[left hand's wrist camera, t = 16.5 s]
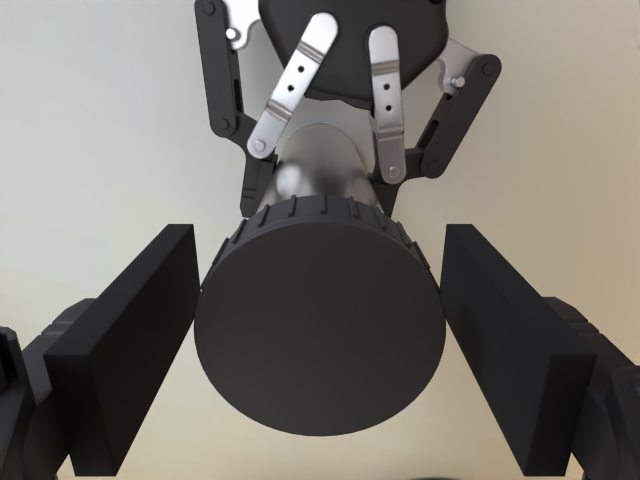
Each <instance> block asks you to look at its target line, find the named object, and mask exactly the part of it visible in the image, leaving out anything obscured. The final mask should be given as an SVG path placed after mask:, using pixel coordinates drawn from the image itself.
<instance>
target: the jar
mask: <svg viewBox="0 0 640 480" xmlns="http://www.w3.org/2000/svg"><path fill="white" fill-rule="evenodd" d="M320 192H325V195H331V196H338V197H344V198H349V196H352V197H353V198H354V200H355V201H359V202H362V203H364V204H366V205H369V206H371V207H373V208H375V206H378V207H379V208H380V210H381V212H382V213H383V214H384V212H383V210H382V208H381V205H380V203H379V201H378V199H377V196H376V194H375V192H374V189H373V187H372V185H371V182H370V180H369V178H368V175H367V173H366V171H365V169H364V166H363V164H362V162H361V159H360V157H359V155H358V152H357V150H356V148H355V146H354V144H353V142H352V140H351V139H350V138H349V137H348V136H347V135H346V134H345V133H344V132H343V131H341V130H340V129H338V128H336V127H334V126H331V125H326V124H314V125H309V126H306V127H304V128H302V129H300V130H299V131H297V132H296V133H295V134H294V135H293V136H292V137H291V138H290V139H289V141H288V142H287V144H286V146H285V148H284V150H283V153H282V155H281V157H280V160H279V162H278V164H277V166H276V169H275V171H274V173H273V176H272V178H271V180H270V183H269V185H268V187H267V189H266V192H265V194H264V196H263V199H262V201H261V203H260V206H259V208H258V210H257V212H256V214H257V213H258V212H260V211H261V210H263V208H264V206H265V205H266V204H269V205H270V206H271V205H273V204H276V203H279V202H281V201H284V200H287V199H291V196H292V195H296V197H301V196H310V195H320Z"/></svg>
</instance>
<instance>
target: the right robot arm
mask: <svg viewBox="0 0 640 480" xmlns="http://www.w3.org/2000/svg"><path fill="white" fill-rule="evenodd" d="M446 1H447V0H196V1H195V6H194V7H195V16H196V23H197V31H198V38H199V45H200V53H201V60H202V67H203V75H204V82H205V89H206V97H207V104H208V112H209V119H210V126H211V129H212V131H213V132H214V133H215V134H216V135H217V136H219V137H223V138H227V139H229V140H231V141H232V142H234V143H236V144H237V145H239V146H240V147H241V148H242V149H243V151H244V152H245V155H246V165H245V173H244V180H243V188H242V196H241V202H240V209H241V213H242V217H246V218H251V217H252V216H254V215H255V214H256V212H257V210H258V208H259V206H260V203H261V201H262V199H263V196H264V194H265V192H266V189H267V187H268V185H269V183H270V180H271V178H272V176H273V173H274V171H275V169H276V166H277V160H278V155H277V154H274V153H275V147H276V143H277V141H278V139H279V138H280V136H281V134H282V132H283V130H284V129H285V127H286V125H287V123H288V122H289V120H290V118H291V116H292V114H293V113H294V111H295V109H296V107H297V105H298V104H299V102H300V100H301V98H302V96H303V95H305V97H306V98H310V99H315V100H320V101H324V100H341V101H343V102H345V103H347V104H349V105H351V106H353V107H355V108H360V109H365V110H368V111H369V119H370V126H371V131H372V138H373V147H374V156H375V166H374V171H373V173H369V172H368V178H369V180H370V182H371V185H372V187H373V189H374V192H375V194H376V196H377V199H378V201H379V203H380V205H381V208H382V210H383V212H384V214H385V215H386V216H388V217H389V218H390V219H391V215H392V211H393V207H394V204H395V200H396V196H397V192H398V189H399V187H400V186H401V184H402V183H403V182H405V181H406V180H409V179H412V178H419V177H427V178H430V179H434V178H438V177H439V176H441V175H442V174H443V173H444V171H445V169H446V168H447V166H448V164H449V162H450V161H451V159H452V157H453V155H454V154H455V152H456V150H457V148H458V147H459V145H460V143H461V141H462V140H463V138H464V136H465V134H466V133H467V131H468V129H469V127H470V125H471V124H472V122H473V120H474V118H475V117H476V115H477V113H478V111H479V110H480V108H481V106H482V104H483V103H484V101H485V99H486V97H487V96H488V94H489V92H490V90H491V89H492V87H493V85H494V83H495V82H496V80H497V78H498V76H499V75H500V72H501V61H500V60H499V58H498V57H497V56H495V55H492V54H479V53H477V52H475V51H473V50H471V49H469V48H467V47H465V46H463V45H462V44H460V43H458V42H456V41H454V40H452V39H450V38H448V37H449V30H448V24H447V20H446ZM258 22H262V23H263V25H264V27H265V29H266V32H267V34H268V36H269V38H270V40H271V42H272V45H273V47H274V49H275V51H276V53H277V55H278V58H279V60H280V62H281V64H282V66H283V68H284V72H283V74H282V76H281V78H280V80H279V81H278V83H277V85H276V87H275V89H274V91H273V93H272V95H271V96H270V98H269V100H268V102H267V105H266V107H265V109H264V111H263V113H262V115H261V117H260V118H259V120H258V122H257V121H256V120H254V119H252V118H251V117H249V116H247V115H246V114H244V108H243V99H242V89H241V80H240V71H239V62H238V52H237V50H242V49H244V48H245V47H247V45H248V44H249V42H250V33H251V30H252V28H253V26H254V25H255V24H257V23H258ZM435 60H437V61H438V62H439V64H440V69H441V71H440V75H439V78H438V86H439V88H440V90H441V91H442V92H444V94H443V96H442V98H441V100H440V101H439V103H438V105H437V107H436V109H435V111H434V113H433V115H432V116H431V118H430V120H429V122H428V124H427V126H426V128H425V129H424V131H423V133H422V135H421V137H420V139H419V141H418V142H417V144H416V146H415V148H410V149H404V138H403V134H404V118H403V107H402V95H401V91H402V90H404V89H405V88H406V87H407V86H408V85H409V84H410V83H411V82H412V81H413V80H414V79H415V78H417V77H418V76H419V75H420V74H421V73H422V72H423V71H424V70H425V69H426V68H427V67H428V66H429V65H431V64H432V63H433V62H434V61H435Z"/></svg>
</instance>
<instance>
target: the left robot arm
mask: <svg viewBox="0 0 640 480" xmlns="http://www.w3.org/2000/svg"><path fill="white" fill-rule="evenodd" d="M440 290H441V294H440V296H441V300H442V303H443V307H444V312H445V318H446V320H447V322H448V324H449V326H450V328H451V330H452V332H453V334H454V336H455V338H456V340H457V342H458V344H459V346H460V348H461V350H462V352H463V354H464V356H465V358H466V360H467V362H468V364H469V366H470V368H471V370H472V372H473V374H474V376H475V378H476V380H477V382H478V384H479V386H480V388H481V390H482V393H483V395H484V397H485V399H486V401H487V403H488V405H489V407H490V409H491V411H492V413H493V415H494V417H495V419H496V421H497V423H498V425H499V427H500V429H501V431H502V433H503V435H504V437H505V439H506V441H507V443H508V445H509V447H510V449H511V451H512V453H513V455H514V457H515V459H516V461H517V463H518V465H519V467H520V469H521V471H522V473H523V475H524V476H565V473H566V469H567V466H568V462H569V458H570V455H571V452H572V453H573V455H574V456H575V458H576V460H577V461H578V463H579V464H580V466H581V467H582V469H583V470H584V473H583V476H582V480H640V366H637V365H635V364H634V363H633V362H632V361H630V360H629V359H628V358H627V357H626V356H625V355H624V354H623V353H622V352H621V351H620V350H619V349H618V348H617V347H616V346H615V345H614V344H613V343H611V342H610V341H609V340H608V339H607V338H606V337H605V336H604V335H603V334H600V333H599V330H598V329H597V328H596V327H595V326H594V325H592V324H591V323H588V320H587V319H586V318H585V317H584V316H583V315H582V314H581V313H580V312H579V311H578V310H577V309H576V308H574V307H573V306H571V305H569V304H567V303H565V302H563V301H561V300H560V299H558V298H556V297H541V296H540V295H539V294H538V292H537V291H536V290H535V289H534V288H533V287H532V286H531V285H530V284H529V283H528V282H527V281H526V280H525V279H524V278H523V277H522V276H521V275H520V274H519V273H518V272H517V271H516V270H515V269H514V268H513V266H512V265H511V264H510V263H509V262H508V261H507V260H506V259H505V258H504V257H503V256H502V255H501V254H500V253H499V252H498V251H497V250H496V249H495V248H494V247H493V246H492V245H491V244H490V243H489V242H488V240H487V239H486V238H485V237H484V236H483V235H482V234H481V233H480V232H479V231H478V230H477V229H476V228H475V227H474V226H473V225H472V224H447V226H446V235H445V245H444V254H443V263H442V272H441V281H440ZM200 294H201V290H200V281H199V272H198V263H197V254H196V245H195V235H194V226H193V224H168V225H167V226H166V227H165V228H164V229H163V230H162V231H161V232H160V233H159V234H158V235H157V236H156V237H155V238H154V239H153V240H152V242H151V243H150V244H149V245H148V246H147V247H146V248H145V249H144V250H143V251H142V252H141V253H140V254H139V255H138V256H137V257H136V258H135V259H134V260H133V261H132V262H131V263H130V264H129V265H128V266H127V268H126V269H125V270H124V271H123V272H122V273H121V274H120V275H119V276H118V277H117V278H116V279H115V280H114V281H113V282H112V283H111V284H110V285H109V286H108V287H107V288H106V289H105V290H104V291H103V292H102V294H101V295H100V296H99V297H98V298H85V299H84V300H82V301H80V302H78V303H76V304H74V305H73V306H71V307H69V308H67V309H65V310H64V311H63V312H62V313H61V314H60V315H59V316H58V317H57V318H56V319H55V320H54V321H53V322H52V324H50V325H49V326H48V327H47V328H45V329H44V330H43V331H42V332H41V335H38V336H37V337H36V338H35V339H34V340H33V341H32V342H31V343H30V344H29V345H28V346H27V347H26V348H25V349H23V350H22V351H21V348H20V345H19V341H18V338H17V334H16V332H15V331H13V330H12V329H10V328H8V327H0V480H58V476H57V471H58V470H59V468H60V467H61V465H62V464H63V462H64V460H65V459H66V457H67V456H68V454H69V455H70V458H71V462H72V466H73V469H74V473H75V476H116V475H117V473H118V471H119V469H120V467H121V465H122V463H123V461H124V459H125V457H126V455H127V453H128V451H129V449H130V447H131V445H132V443H133V441H134V439H135V437H136V435H137V433H138V431H139V429H140V427H141V425H142V423H143V421H144V419H145V417H146V415H147V413H148V411H149V409H150V407H151V405H152V403H153V401H154V399H155V397H156V395H157V393H158V390H159V388H160V386H161V384H162V382H163V380H164V378H165V376H166V374H167V372H168V370H169V368H170V366H171V364H172V362H173V360H174V358H175V356H176V354H177V352H178V350H179V348H180V346H181V344H182V342H183V340H184V338H185V336H186V334H187V332H188V330H189V328H190V326H191V324H192V322H193V320H194V318H195V311H196V307H197V303H198V298H199V296H200Z"/></svg>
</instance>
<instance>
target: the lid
mask: <svg viewBox="0 0 640 480" xmlns="http://www.w3.org/2000/svg"><path fill="white" fill-rule="evenodd" d="M200 289H202V291H201V294H200V296H199V298H198V303H197V307H196V311H195V318H194V339H195V345H196V349H197V354H198V357H199V360H200V362H201V365H202V368H203V370H204V371H205V373H206V375H207V377H208V379H209V381H210V382H211V383H212V385H213V386H214V387H215V389H216V390H217V391H218V393H219V394H220V395H221V396H222V397H223V398H224V399H225V400H226V401H227V402H228V403H229V404H231V405H232V406H233V407H234V408H236V409H237V410H238V411H239V412H241V413H243V414H244V415H246V416H247V417H249V418H250V419H252V420H254V421H256V422H258V423H260V424H263V425H265V426H267V427H270V428H273V429H276V430H279V431H283V432H287V433H291V434H297V435H304V436H336V435H343V434H349V433H353V432H357V431H361V430H364V429H367V428H370V427H372V426H375V425H377V424H380V423H382V422H384V421H385V420H387V419H389V418H391V417H393V416H394V415H396V414H397V413H399V412H400V411H402V410H403V409H405V408H406V407H407V406H408V405H409V404H410V403H411V402H413V401H414V400H415V399H416V398H417V397H418V396H419V394H420V393H421V392H422V391H423V390H424V389H425V387H426V386H427V384H428V383H429V382H430V380H431V379H432V377H433V375H434V373H435V371H436V369H437V367H438V365H439V362H440V359H441V356H442V353H443V349H444V344H445V338H446V319H445V312H444V307H443V303H442V300H441V296H440V294H441V290H440V288H439V286H438V284H437V282H436V281H435V279H434V277H433V275H432V273H431V271H430V266H429V264H428V262H427V260H426V259H425V257H424V255H423V253H422V251H421V249H420V248H419V246H418V244H417V242H416V241H415V242H412V241H411V239H410V238H409V236H408V235H407V234H406V232H405V230H404V228H403V226H402V224H401V223H400V222H399V221H398V222H397V223H395V222H394V221H393V220H392V219H390V218H389V217H388V216H386V215H385V214H383V213H382V212H381V210H380V208H379V207H378V206H375V208H373V207H371V206H369V205H366V204H364V203H362V202H359V201H355V200H354V198H353V197H352V196H349V198H344V197H338V196H331V195H325V192H320V195H310V196H301V197H296V195H292V196H291V199H287V200H284V201H281V202H279V203H276V204H273V205H271V206H270V205H269V204H266V205H265V206H264V208H263V210H261V211H260V212H258V213H257V214H255V215H254V216H252V217H251V218H249V219H248V220H246V219H245V218H244V219H243V220H242V222H241V224H240V226H239V228H238V229H237V230H236V232H235V233H234V234H233V235H232V237H231V238H230V239H228V238H226V239H225V241H224V242H223V244H222V246H221V248H220V250H219V252H218V253H217V255H216V257H215V259H214V261H213V263H212V266H211V268H210V270H209V271H208V273H207V275H206V277H205V279H204V281H203V282H202V284H201V287H200Z"/></svg>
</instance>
